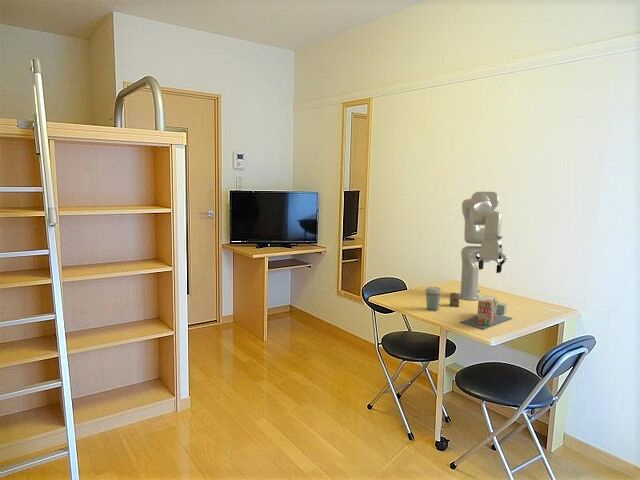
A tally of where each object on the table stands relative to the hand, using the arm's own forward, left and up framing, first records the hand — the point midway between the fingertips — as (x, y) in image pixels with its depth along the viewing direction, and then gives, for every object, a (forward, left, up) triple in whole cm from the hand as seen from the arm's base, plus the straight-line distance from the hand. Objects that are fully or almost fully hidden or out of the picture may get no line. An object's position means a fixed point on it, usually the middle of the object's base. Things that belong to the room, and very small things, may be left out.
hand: (489, 270), depth 227 cm
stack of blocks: (-1, 0, -26) cm, 26 cm away
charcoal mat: (0, 0, -26) cm, 26 cm away
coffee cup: (+6, -29, -26) cm, 40 cm away
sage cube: (-19, -3, -26) cm, 33 cm away
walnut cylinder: (-10, -26, -26) cm, 38 cm away
